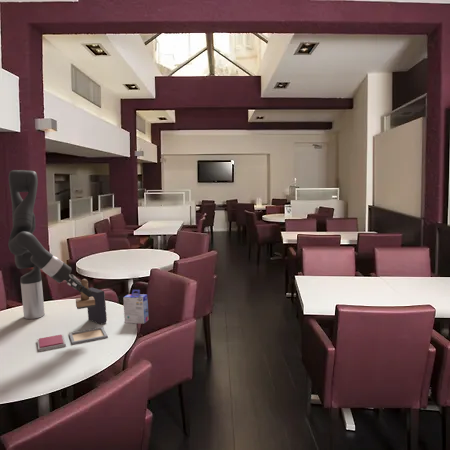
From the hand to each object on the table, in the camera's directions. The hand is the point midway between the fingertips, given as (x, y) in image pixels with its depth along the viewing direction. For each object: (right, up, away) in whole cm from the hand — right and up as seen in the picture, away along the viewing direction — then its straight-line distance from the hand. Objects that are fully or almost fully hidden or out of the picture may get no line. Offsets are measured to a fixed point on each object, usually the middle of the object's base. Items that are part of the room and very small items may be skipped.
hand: (89, 293), depth 180 cm
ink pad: (-14, -19, -6) cm, 24 cm away
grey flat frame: (-1, -18, +1) cm, 18 cm away
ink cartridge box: (+16, -16, +17) cm, 28 cm away
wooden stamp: (-2, -5, 0) cm, 5 cm away
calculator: (-3, -16, +19) cm, 25 cm away
